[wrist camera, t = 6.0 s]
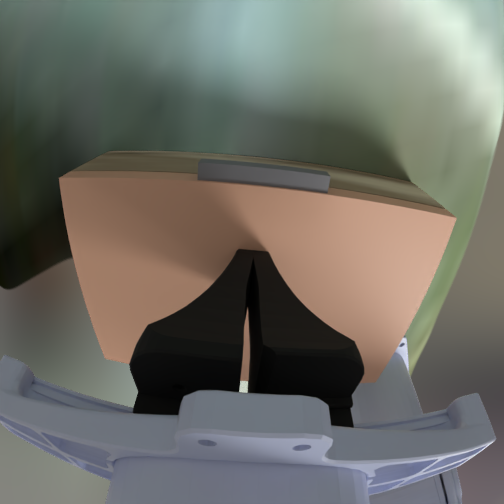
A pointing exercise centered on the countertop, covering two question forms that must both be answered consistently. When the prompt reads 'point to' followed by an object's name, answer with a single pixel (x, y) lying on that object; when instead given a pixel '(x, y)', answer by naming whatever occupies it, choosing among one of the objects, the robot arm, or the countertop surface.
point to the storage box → (189, 162)
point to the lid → (249, 248)
